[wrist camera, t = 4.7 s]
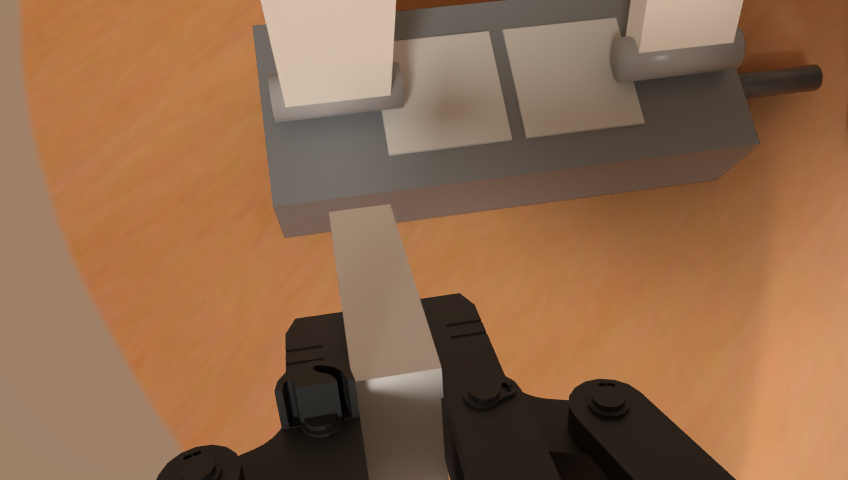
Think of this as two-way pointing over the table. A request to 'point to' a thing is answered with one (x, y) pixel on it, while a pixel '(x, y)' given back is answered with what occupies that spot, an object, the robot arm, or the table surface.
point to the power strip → (511, 119)
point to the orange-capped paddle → (332, 58)
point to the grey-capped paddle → (678, 39)
